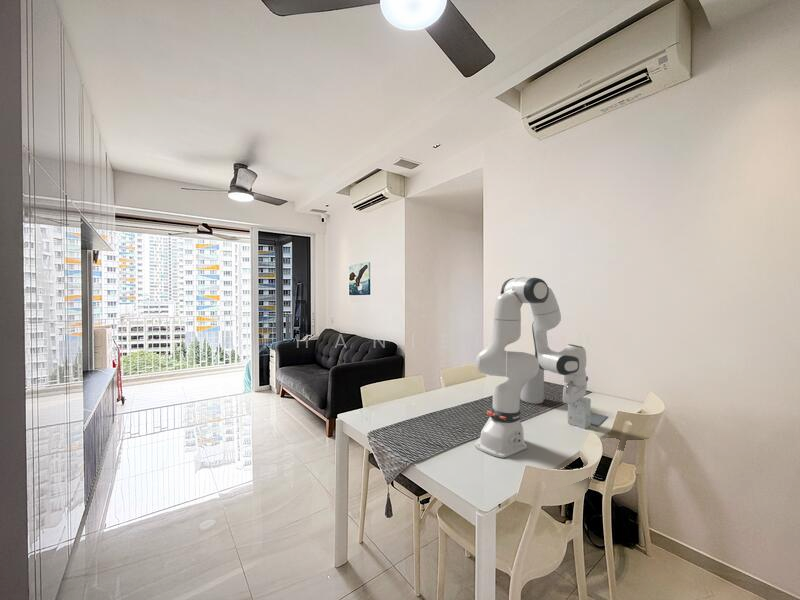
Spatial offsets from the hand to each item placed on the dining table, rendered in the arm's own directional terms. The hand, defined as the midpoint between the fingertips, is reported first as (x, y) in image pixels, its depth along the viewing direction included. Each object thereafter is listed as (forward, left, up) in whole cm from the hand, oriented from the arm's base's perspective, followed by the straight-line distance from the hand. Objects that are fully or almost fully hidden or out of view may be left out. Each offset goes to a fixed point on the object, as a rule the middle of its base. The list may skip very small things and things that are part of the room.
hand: (574, 408), depth 147 cm
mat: (+19, -3, -10) cm, 21 cm away
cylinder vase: (+22, +30, -10) cm, 38 cm away
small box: (+7, 0, -10) cm, 12 cm away
